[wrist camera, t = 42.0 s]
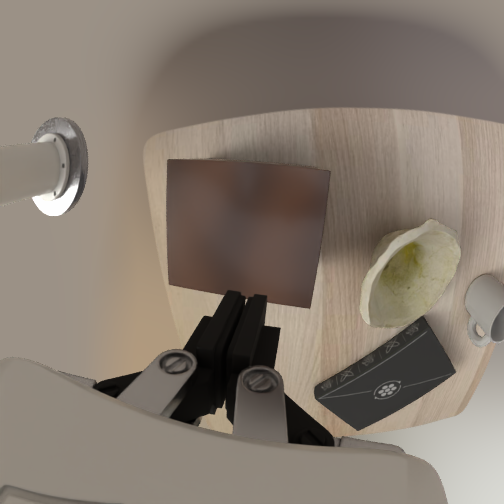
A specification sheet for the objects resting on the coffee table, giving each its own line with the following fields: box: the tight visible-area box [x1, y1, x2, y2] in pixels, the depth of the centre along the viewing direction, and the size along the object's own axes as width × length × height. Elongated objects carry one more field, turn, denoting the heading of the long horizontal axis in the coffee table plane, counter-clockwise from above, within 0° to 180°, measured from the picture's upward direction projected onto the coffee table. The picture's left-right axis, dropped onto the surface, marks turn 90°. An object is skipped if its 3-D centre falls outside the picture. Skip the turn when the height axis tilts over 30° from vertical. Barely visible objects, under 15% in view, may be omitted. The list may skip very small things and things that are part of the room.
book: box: [314, 316, 456, 431], centre depth 38 cm, size 22×15×3 cm
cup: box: [465, 274, 504, 347], centre depth 28 cm, size 7×10×9 cm
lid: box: [166, 159, 330, 309], centre depth 25 cm, size 14×13×1 cm
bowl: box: [360, 218, 461, 328], centre depth 28 cm, size 15×14×10 cm
